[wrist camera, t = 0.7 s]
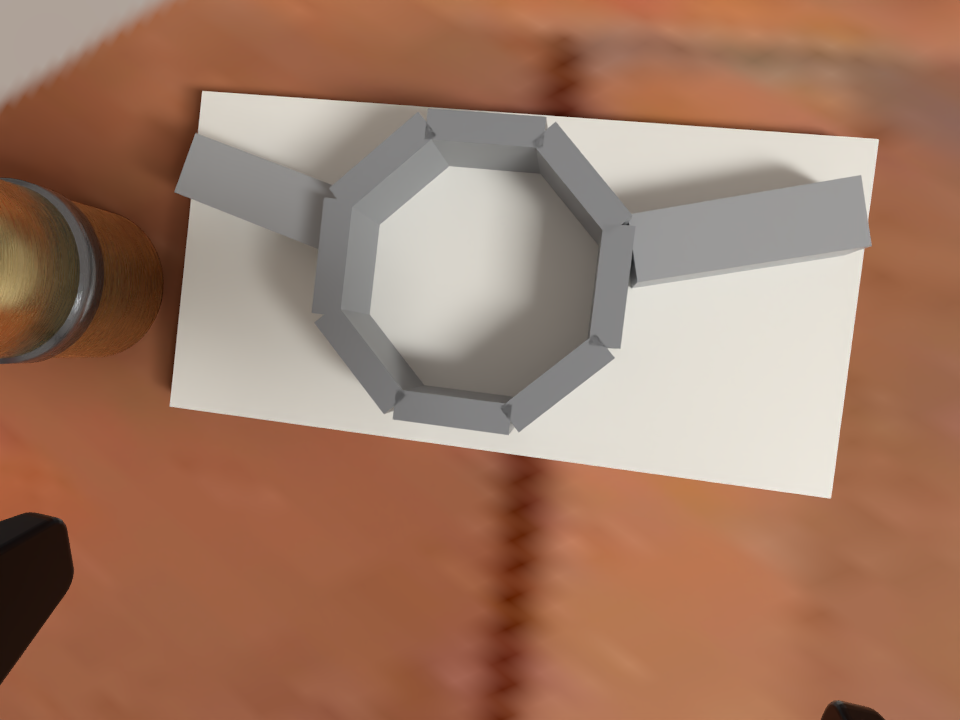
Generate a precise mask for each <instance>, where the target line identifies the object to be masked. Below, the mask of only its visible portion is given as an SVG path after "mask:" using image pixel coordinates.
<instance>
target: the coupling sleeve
mask: <svg viewBox="0 0 960 720" xmlns="http://www.w3.org/2000/svg"><path fill="white" fill-rule="evenodd" d="M162 294H163V273H162V268H161V263H160V260H159V257H158V254H157V252H156V250H155V248H154V246H153V244H152V243H151V241H150V239H149V238H148V237H147V235H146V234H145V233H144V232H143V231H142V230H141V229H140V228H139V227H138V226H137V225H136V224H134V223H133V222H131V221H130V220H128V219H126V218H124V217H122V216H120V215H117V214H114V213H111V212H108V211H105V210H101V209H98V208H95V207H91V206H88V205H84V204H81V203H78V202H74V201H71V200H69V199H67V198H66V197H65V196H63V195H61V194H59V193H57V192H55V191H54V190H51V189H48V188H45V187H42V186H39V185H35V184H32V183H29V182H26V181H22V180H18V179H12V178H0V364H10V363H34V362H38V361H43V360H46V359H49V358H68V357H105V356H109V355H114V354H116V353H119V352H122V351H124V350H126V349H127V348H129V347H131V346H132V345H133V344H135V343H136V342H137V341H138V340H140V339H141V338H142V337H143V336H144V334H145V333H146V332H147V331H148V329H149V328H150V326H151V325H152V323H153V322H154V320H155V318H156V315H157V313H158V311H159V307H160V304H161V300H162Z"/></svg>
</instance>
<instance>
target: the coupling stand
mask: <svg viewBox="0 0 960 720" xmlns="http://www.w3.org/2000/svg"><path fill="white" fill-rule="evenodd" d="M878 142H879V139H869V138H855V137H841V136H827V135H813V134H799V133H785V132H771V131H757V130H742V129H728V128H714V127H700V126H686V125H672V124H658V123H644V122H630V121H616V120H602V119H588V118H574V117H560V116H546V115H532V114H518V113H504V112H490V111H476V110H462V109H448V108H434V107H420V106H406V105H392V104H378V103H364V102H350V101H336V100H322V99H308V98H294V97H280V96H266V95H252V94H238V93H224V92H210V91H202V98H201V108H200V118H199V127H198V134H197V133H195V136H194V139H193V141H192V144H191V147H190V150H189V153H188V155H187V158H186V161H185V164H184V167H183V169H182V172H181V175H180V178H179V180H178V183H177V186H176V189H175V193H178V194H180V195H183V196H185V197H188V198H190V199H191V205H190V215H189V224H188V234H187V244H186V253H185V263H184V273H183V282H182V292H181V302H180V312H179V321H178V331H177V341H176V350H175V360H174V370H173V379H172V389H171V399H170V407H177V408H184V409H191V410H199V411H206V412H213V413H220V414H227V415H235V416H242V417H249V418H256V419H263V420H271V421H278V422H285V423H292V424H299V425H306V426H314V427H321V428H328V429H335V430H342V431H350V432H357V433H364V434H371V435H378V436H386V437H393V438H400V439H407V440H414V441H421V442H429V443H436V444H443V445H450V446H457V447H465V448H472V449H479V450H486V451H493V452H501V453H508V454H515V455H522V456H529V457H537V458H544V459H551V460H558V461H565V462H572V463H580V464H587V465H594V466H601V467H608V468H616V469H623V470H630V471H637V472H644V473H652V474H659V475H666V476H673V477H680V478H687V479H695V480H702V481H709V482H716V483H723V484H731V485H738V486H745V487H752V488H759V489H767V490H774V491H781V492H788V493H795V494H803V495H810V496H817V497H824V498H831V494H832V486H833V479H834V471H835V464H836V456H837V449H838V442H839V434H840V427H841V419H842V412H843V404H844V397H845V389H846V382H847V374H848V367H849V359H850V352H851V344H852V337H853V329H854V322H855V314H856V307H857V299H858V292H859V285H860V277H861V270H862V262H863V255H864V248H867V247H870V246H872V245H871V238H870V231H869V225H868V217H869V210H870V202H871V195H872V187H873V180H874V172H875V165H876V157H877V150H878Z"/></svg>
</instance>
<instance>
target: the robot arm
mask: <svg viewBox="0 0 960 720" xmlns="http://www.w3.org/2000/svg"><path fill="white" fill-rule="evenodd" d="M73 574H74V567H73V561H72V555H71V549H70V543H69V537H68V531H67V527H66V525H65V523H64V522H63V521H62V520H61V519H59V518H56V517H52V516H48V515H43V514H39V513H32V512H29V513H24V514H20V515H17V516H14V517H12V518H9V519H6V520H3V521H0V685H1V683H2V682H3V680H4V679H5V678H6V676H7V675H8V674H9V672H10V671H11V669H12V668H13V667H14V665H15V664H16V662H17V661H18V660H19V658H20V657H21V655H22V654H23V653H24V651H25V650H26V648H27V647H28V646H29V644H30V643H31V641H32V640H33V639H34V637H35V636H36V634H37V633H38V632H39V630H40V629H41V627H42V626H43V625H44V623H45V622H46V620H47V619H48V618H49V616H50V615H51V613H52V612H53V611H54V609H55V608H56V606H57V605H58V604H59V602H60V601H61V599H62V598H63V597H64V595H65V594H66V592H67V591H68V589H69V587H70V585H71V582H72V579H73ZM821 720H885V719H884V718H883V717H882V716H881V715H880V714H879V713H878V712H876V711H875V710H873V709H871V708H869V707H865V706H861V705H856V704H852V703H848V702H844V701H839V700H838V701H833V702H831V703H830V704H829V705H828V706H827V708H826V709H825V711H824V713H823V716H822V718H821Z"/></svg>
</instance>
